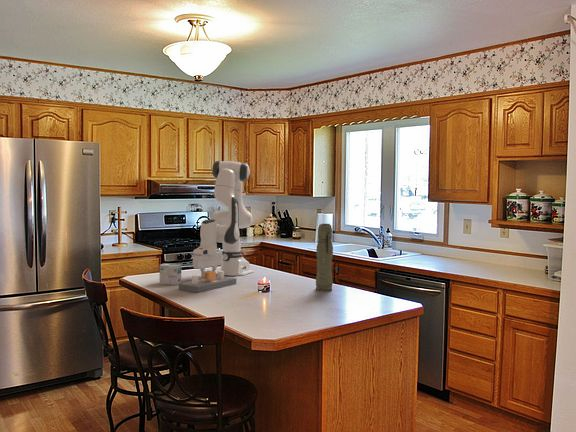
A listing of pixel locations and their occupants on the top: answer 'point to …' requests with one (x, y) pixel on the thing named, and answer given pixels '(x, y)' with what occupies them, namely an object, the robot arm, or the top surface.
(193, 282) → the outer breaker
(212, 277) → the lockout cap
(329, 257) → the thermos
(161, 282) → the light bulb box
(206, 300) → the top surface
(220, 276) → the inner breaker
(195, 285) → the breaker panel
